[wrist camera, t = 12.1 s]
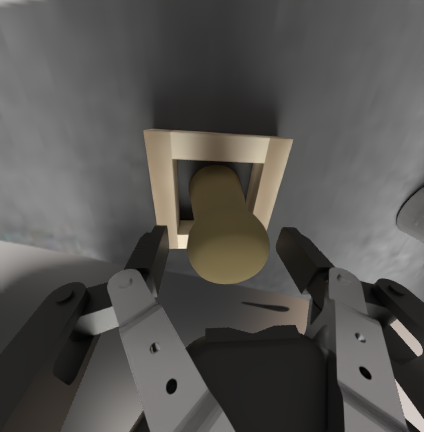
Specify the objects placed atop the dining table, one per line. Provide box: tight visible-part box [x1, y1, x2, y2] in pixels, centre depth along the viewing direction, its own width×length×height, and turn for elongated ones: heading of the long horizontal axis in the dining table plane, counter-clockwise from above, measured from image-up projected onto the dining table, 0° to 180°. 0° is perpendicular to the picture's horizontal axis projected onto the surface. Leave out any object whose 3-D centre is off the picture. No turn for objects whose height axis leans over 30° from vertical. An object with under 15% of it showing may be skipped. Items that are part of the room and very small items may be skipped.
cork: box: [187, 164, 270, 284], centre depth 13 cm, size 6×6×11 cm
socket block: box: [143, 129, 293, 249], centre depth 17 cm, size 12×12×3 cm
